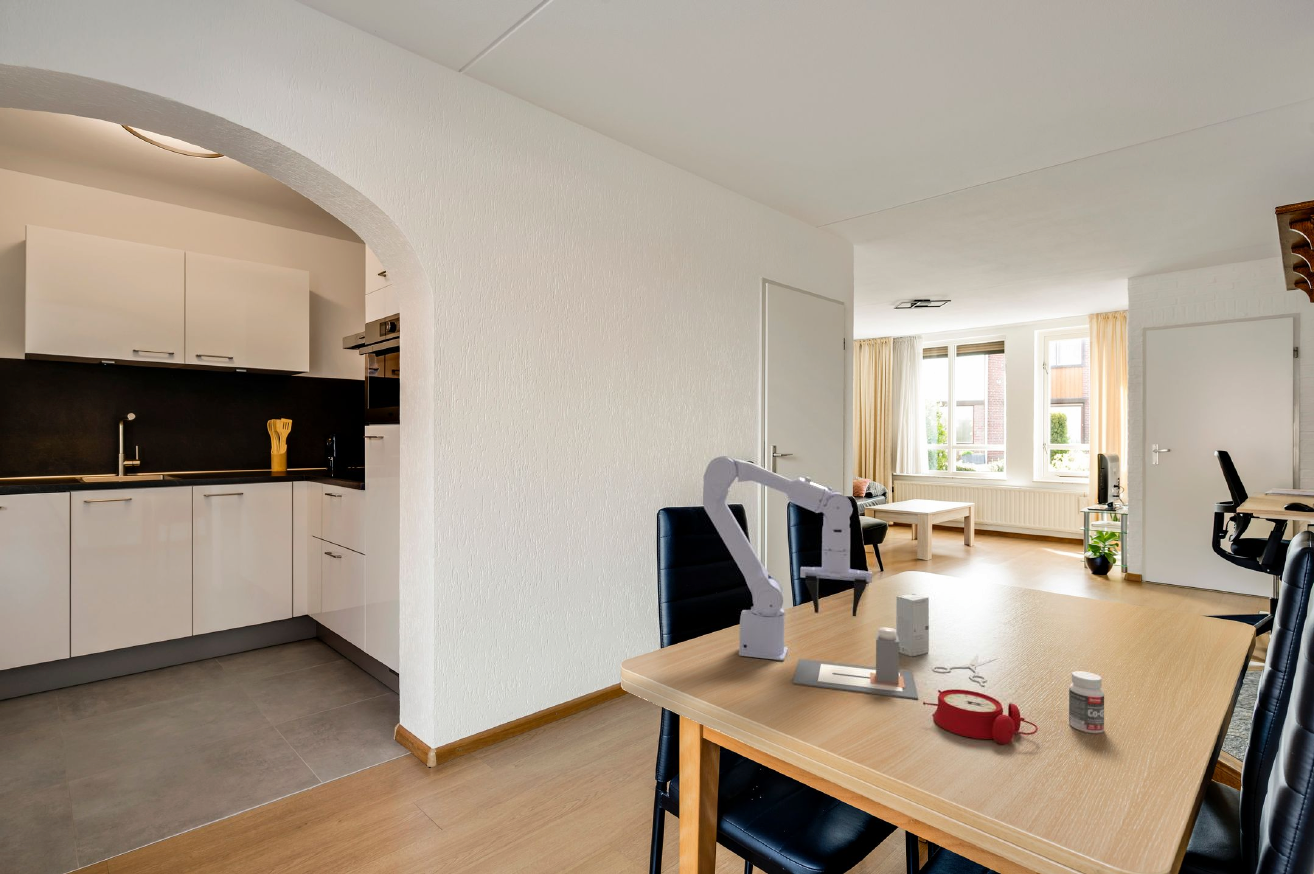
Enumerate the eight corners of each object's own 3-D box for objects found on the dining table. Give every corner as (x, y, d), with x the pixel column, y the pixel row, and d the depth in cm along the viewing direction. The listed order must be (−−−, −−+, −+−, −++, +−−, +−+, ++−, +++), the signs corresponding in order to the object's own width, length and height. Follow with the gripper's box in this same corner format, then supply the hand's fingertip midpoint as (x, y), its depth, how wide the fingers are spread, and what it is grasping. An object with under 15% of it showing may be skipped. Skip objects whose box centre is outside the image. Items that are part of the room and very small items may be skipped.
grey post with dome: (876, 681, 121) (876, 631, 121) (875, 674, 125) (876, 625, 125) (898, 684, 120) (899, 633, 120) (897, 677, 123) (898, 627, 123)
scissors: (926, 670, 128) (962, 648, 142) (926, 674, 128) (962, 651, 142) (983, 685, 120) (1015, 659, 135) (983, 689, 120) (1015, 663, 135)
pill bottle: (1091, 736, 100) (1092, 682, 100) (1062, 723, 105) (1062, 672, 105) (1110, 730, 102) (1111, 678, 102) (1081, 719, 107) (1081, 668, 107)
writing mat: (792, 683, 121) (792, 681, 121) (799, 660, 134) (799, 657, 134) (918, 699, 114) (918, 696, 114) (912, 672, 127) (912, 670, 127)
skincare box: (912, 657, 137) (913, 600, 137) (894, 651, 140) (895, 596, 141) (930, 652, 140) (930, 596, 140) (912, 646, 144) (912, 592, 144)
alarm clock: (938, 683, 112) (1036, 686, 102) (946, 722, 111) (1046, 728, 101) (916, 701, 104) (1020, 705, 94) (925, 742, 103) (1031, 751, 93)
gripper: (799, 549, 134) (798, 614, 134) (872, 554, 130) (871, 621, 130) (802, 545, 141) (801, 606, 141) (871, 549, 137) (871, 612, 136)
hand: (835, 613), depth 136 cm, fingers open, 7 cm apart
